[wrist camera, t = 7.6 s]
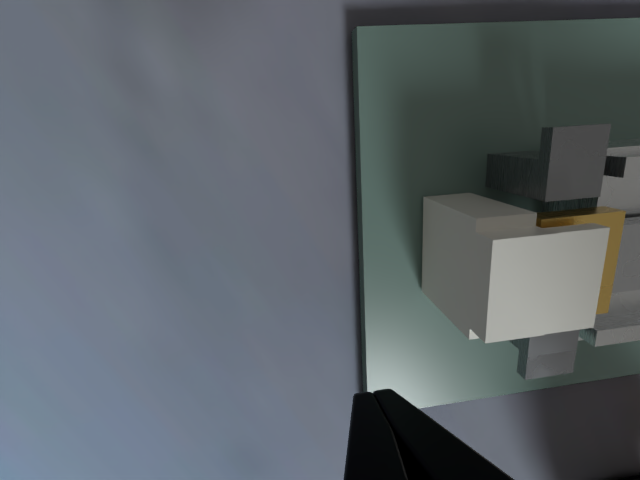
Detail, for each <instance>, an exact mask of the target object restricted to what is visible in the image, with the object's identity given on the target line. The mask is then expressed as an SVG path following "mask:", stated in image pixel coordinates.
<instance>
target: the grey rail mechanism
mask: <svg viewBox="0 0 640 480" xmlns="http://www.w3.org/2000/svg"><path fill="white" fill-rule="evenodd" d="M610 129H611V124H588V125H573V126H558V127H544V128H542V133H541V142H540V151H534V150H532V151H519V152H505V153H492V154H487V168H486V183H485V187H488V188H492V189H496V190H500V191H504V192H508V193H512V194H516V195H520V196H524V197H528V198H532V199H535V200H539V201H542V207H541V212H549V211H559V210H569V209H579V208H589V207H599V206H606V207H610V208H615V209H620V210H624V211H626V214H625V218H630V217H640V138H639V139H625V140H612V141H609V136H610ZM580 340H585V341H587V342H588V343H590V344H591V345H593V346H594V347H597V346H604V345H611V344H618V343H625V342H632V341H638V340H640V289H639V290H632V291H624V292H617V293H612V294H611V299H610V305H609V311H608V313H604V314H596V316H595V322H594V328H587V329H580V330H573V331H565V332H558V333H551V334H545V335H542V336H535V337H528V338H521V339H514V340H508V341H510V342H511V343H512V344H513V345H514V346H515V347H517V348H518V349H519V354H518V364H517V373H518V374H519V375H520V376H521V377H522V378H523V379H525V380H528V379H535V378H541V377H548V376H554V375H561V374H567V373H573V370H574V363H575V357H576V350H577V344H578V341H580Z"/></svg>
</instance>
